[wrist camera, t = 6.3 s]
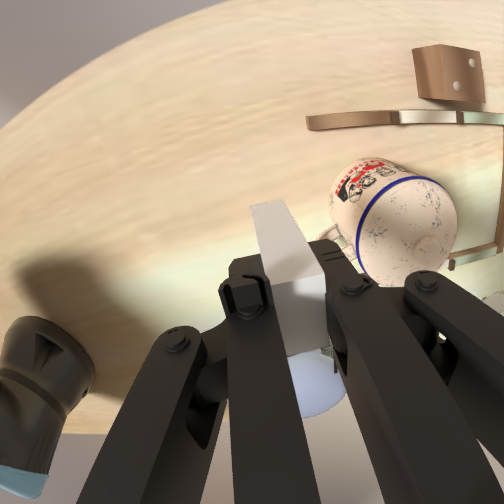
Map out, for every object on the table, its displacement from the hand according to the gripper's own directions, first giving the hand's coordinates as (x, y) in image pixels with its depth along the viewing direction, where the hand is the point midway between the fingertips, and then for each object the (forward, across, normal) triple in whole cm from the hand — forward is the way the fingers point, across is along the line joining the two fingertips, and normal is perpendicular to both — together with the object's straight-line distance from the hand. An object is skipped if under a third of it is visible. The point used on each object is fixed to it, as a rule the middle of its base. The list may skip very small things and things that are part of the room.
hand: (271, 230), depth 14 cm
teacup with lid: (+14, +10, -5) cm, 18 cm away
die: (+14, +20, +7) cm, 25 cm away
